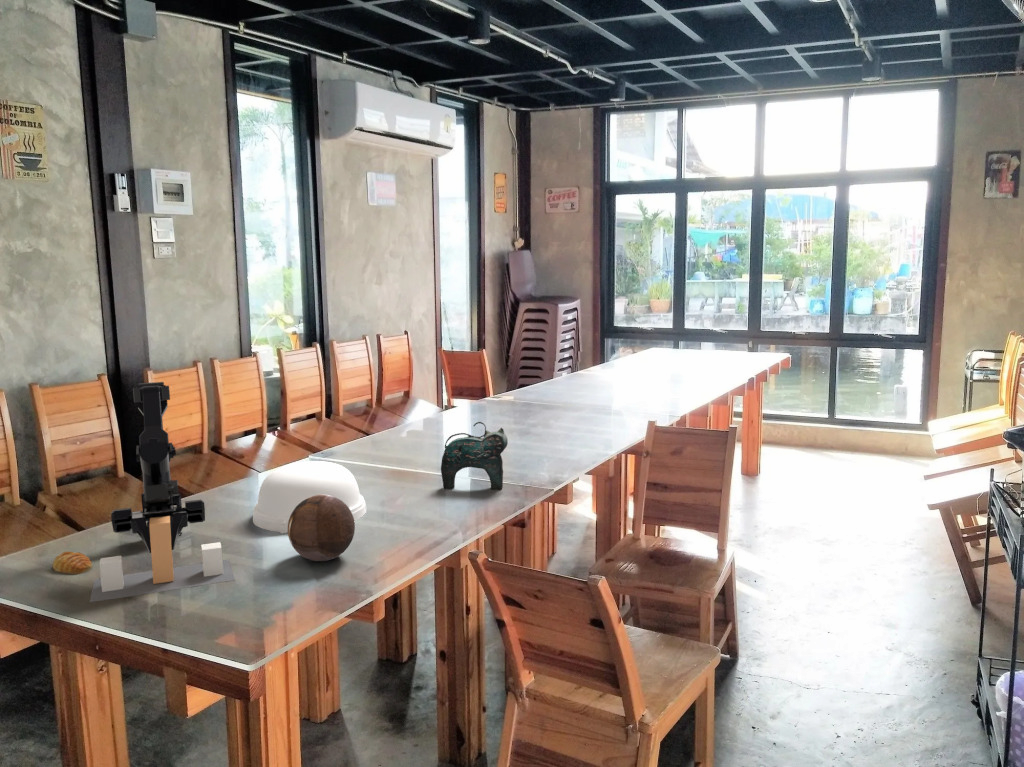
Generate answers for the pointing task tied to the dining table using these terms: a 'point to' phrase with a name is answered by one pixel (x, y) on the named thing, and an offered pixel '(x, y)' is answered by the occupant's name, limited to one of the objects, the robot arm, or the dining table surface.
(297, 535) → the wooden sphere
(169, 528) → the tan wooden plank
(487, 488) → the dining table surface
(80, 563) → the pastry
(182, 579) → the charcoal mat
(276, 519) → the dome cover
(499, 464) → the ceramic cat
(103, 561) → the white paddle
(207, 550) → the white paddle
